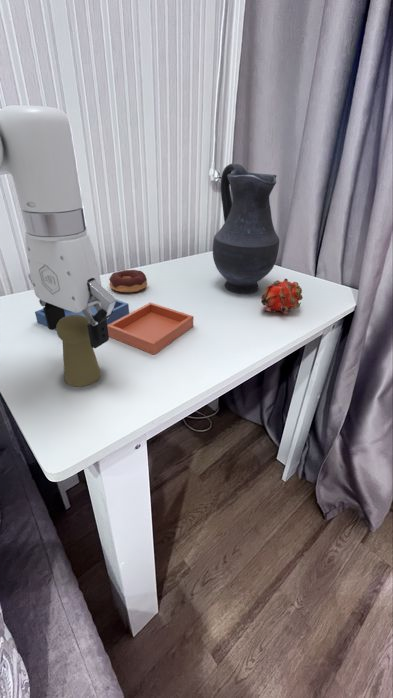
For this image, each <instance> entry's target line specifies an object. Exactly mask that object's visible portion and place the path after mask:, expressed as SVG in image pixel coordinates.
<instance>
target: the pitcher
mask: <svg viewBox="0 0 393 698" xmlns="http://www.w3.org/2000/svg"><path fill="white" fill-rule="evenodd" d="M276 184H277V174H267V173H256V172H248V171H247V170H246V169H245V167H244V166H243V165H241V164H240V163H239V164H238V163H235V164H234V163H230V164H227V165H226V166H225V167H224V168H223V170H222V172H221V177H220V197H221V198H220V199H221V205H222V215H223V224H222V226H221V228H220V229H219V230H218V231H217V232H216V233H215V235H214V236H213V241H212V258H213V262H214V266H215V268H216V270H217V271H218V272H219V274H220V275H221V276H222V277H223V278H224V279H225V280H226V281H225V282H224V285H223V286H224V289H225V290H226V291H228V292H231V293H234V294H240V295H247V294H254V293H255V292H257V291H259V288H260V287H259V282H260V281H261V280H262V279H264V278H265V277H266V276H268V275H269V274H270V273H271V271H272V270H273V268H274V267H275V265H276V262H277V259H278V255H279V250H280V237H279V235H278V234H277V232H276V230H275V227H274V224H273V218H272V210H271V203H270V202H271V201H270V196H271V193H272V191H273V190H274V187H275V186H276Z"/></svg>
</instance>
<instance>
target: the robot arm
mask: <svg viewBox="0 0 393 698" xmlns="http://www.w3.org/2000/svg"><path fill="white" fill-rule="evenodd" d="M71 124H72V123H71V121H70V119H69V116H68V115H67V114H66V112H64V111H63V110H62V109H60V108H57V107H54V106H45V105H27V104H12V105H7V106H4V107H2V108H0V176H1V175H11V176H12V180H13V184H14V188H15V189H14V190H15V192H16V196H17V200H18V204H19V208H20V212H21V217H22V220H23V224H24V228H25V233H24V235H25V238H24V239H25V251H26V258H27V264H28V269H29V273H28V274H27V277H28V279H29V281H30V283H31V285H32V287H33V291H34V294H35V297H36V298H38V299H39V300H38V302H39V304H40V306H41V307H42V309H44V313H45V317H46V321H47V325H48V327H47V328H48V330H50V331H54V329H55V328H56V325H57V323H58V321H59V320H60V319H61V318H63V317H65V312H64V309H65V310H68V311H71V312H74V313H79V312H81V311H82V312H83V313H84V315H85V316H86V318H87V319H88V321H89V322H90V324H88V325H87V327H88V333H89V338H90V344H91V347H92V348H93V349H97V348H99V347H100V346H103V344H105V343H107V342H109V340H110V337H109V335H108V328H107V319H109V316H110V315H111V314H112V313H113V308H114V305H115V302H116V300H117V299H116V298H115V297H114V296H113V295H112V294H111V293H110V292H109V291H107V289H105V288H104V287H103V286H102V281H101V275H100V271H99V270H100V269H99V265H98V261H97V258H96V253H95V250H94V246H93V243H92V240H91V238H90V235H89V234H88V228H87V220H86V215H85V208H84V201H83V193H82V189H81V182H80V175H79V169H78V162H77V161H78V160H77V156H76V155H77V154H76V149H75V142H74V136H73V130H72V125H71ZM115 299H116V300H115ZM88 301H90V302H89V303H88ZM93 306H94V307H95V308H96V310H97V311H98V312H97V313H96V314H95V315H94V314H93V313H92V311H91V310H90V308H91V307H93Z"/></svg>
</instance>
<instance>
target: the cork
mask: <svg viewBox="0 0 393 698" xmlns="http://www.w3.org/2000/svg"><path fill="white" fill-rule="evenodd" d="M88 324H90V322H89V321H88V319H87V318H86V317H85V316H82V315H69V316H65V317H63V318H61V319H60V320H59V321H58V323H57V325H56V330H55V331H56V334H57V336H58V338H59V339H60V340H61V341H62V360H63V376H64V377H63V378H64V382H65V383H66V384H67V385H69V386H71V387H77V388H78V387H79V388H81V387H86V386H90V385H92V384H94V383H96V382H97V381H98V380H99V379H100V378H101V375H102V372H101V369H100V365H99V362H98V359H97V356H96V353H95V350H94V348H92V347H91V344H90V338H89V333H88V327H87V325H88Z"/></svg>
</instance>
